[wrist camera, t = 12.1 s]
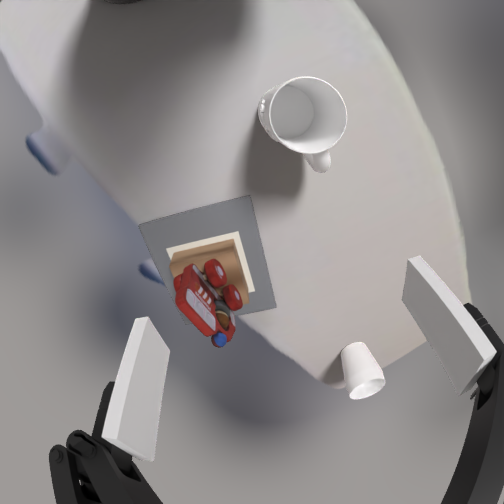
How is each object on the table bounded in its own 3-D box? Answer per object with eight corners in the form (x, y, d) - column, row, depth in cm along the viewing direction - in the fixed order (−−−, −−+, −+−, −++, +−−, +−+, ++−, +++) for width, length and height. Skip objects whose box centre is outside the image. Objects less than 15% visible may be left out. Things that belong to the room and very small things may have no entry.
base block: (173, 252, 43) (168, 266, 39) (233, 238, 42) (233, 251, 39) (194, 298, 48) (191, 314, 44) (248, 288, 47) (249, 303, 44)
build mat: (139, 224, 41) (138, 226, 40) (250, 195, 39) (250, 196, 39) (186, 322, 52) (185, 324, 51) (276, 305, 51) (276, 307, 50)
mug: (283, 172, 38) (302, 201, 28) (245, 99, 32) (251, 96, 22) (333, 150, 36) (370, 171, 26) (300, 76, 31) (328, 65, 20)
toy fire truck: (212, 318, 45) (209, 367, 36) (169, 264, 39) (153, 312, 30) (248, 303, 44) (253, 353, 35) (209, 244, 38) (202, 291, 29)
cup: (369, 354, 62) (384, 391, 52) (336, 365, 63) (348, 403, 53) (370, 333, 58) (388, 372, 47) (334, 345, 58) (348, 387, 48)
